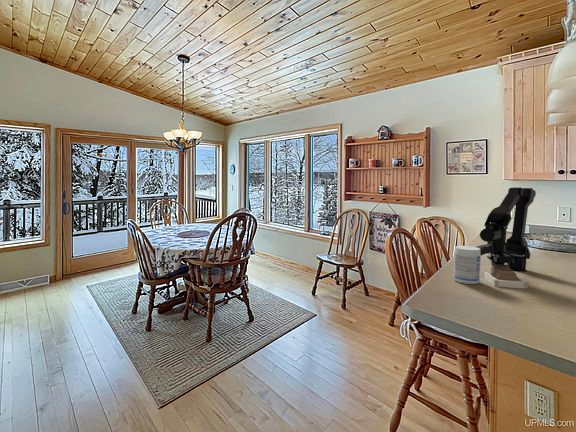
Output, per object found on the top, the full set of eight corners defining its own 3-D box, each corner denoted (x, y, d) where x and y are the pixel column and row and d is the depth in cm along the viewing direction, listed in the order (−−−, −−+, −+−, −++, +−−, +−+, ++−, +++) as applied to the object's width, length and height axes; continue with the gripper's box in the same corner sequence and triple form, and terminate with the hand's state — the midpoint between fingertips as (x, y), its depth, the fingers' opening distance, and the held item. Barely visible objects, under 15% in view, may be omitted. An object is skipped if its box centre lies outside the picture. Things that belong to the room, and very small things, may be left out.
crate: (490, 277, 132) (491, 263, 131) (506, 278, 130) (507, 264, 129) (498, 284, 123) (499, 268, 122) (515, 285, 122) (516, 270, 121)
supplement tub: (482, 286, 121) (484, 250, 120) (456, 283, 124) (458, 249, 123) (475, 278, 131) (477, 246, 129) (451, 277, 133) (452, 244, 132)
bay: (483, 277, 133) (484, 271, 132) (513, 279, 129) (513, 273, 129) (494, 286, 121) (495, 280, 121) (527, 288, 118) (528, 282, 118)
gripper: (470, 235, 142) (468, 266, 144) (484, 242, 125) (482, 278, 126) (497, 236, 139) (495, 268, 141) (515, 243, 122) (513, 280, 123)
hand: (495, 273), depth 133 cm, fingers closed
